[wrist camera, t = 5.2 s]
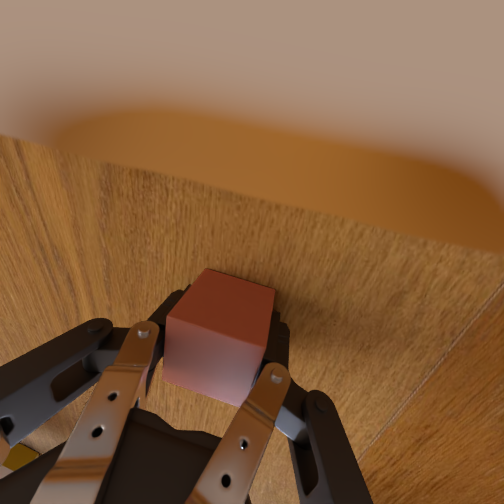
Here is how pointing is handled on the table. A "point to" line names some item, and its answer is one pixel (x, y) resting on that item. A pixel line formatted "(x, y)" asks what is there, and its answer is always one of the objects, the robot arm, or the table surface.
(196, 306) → the block
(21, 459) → the soap bottle
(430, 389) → the table surface
